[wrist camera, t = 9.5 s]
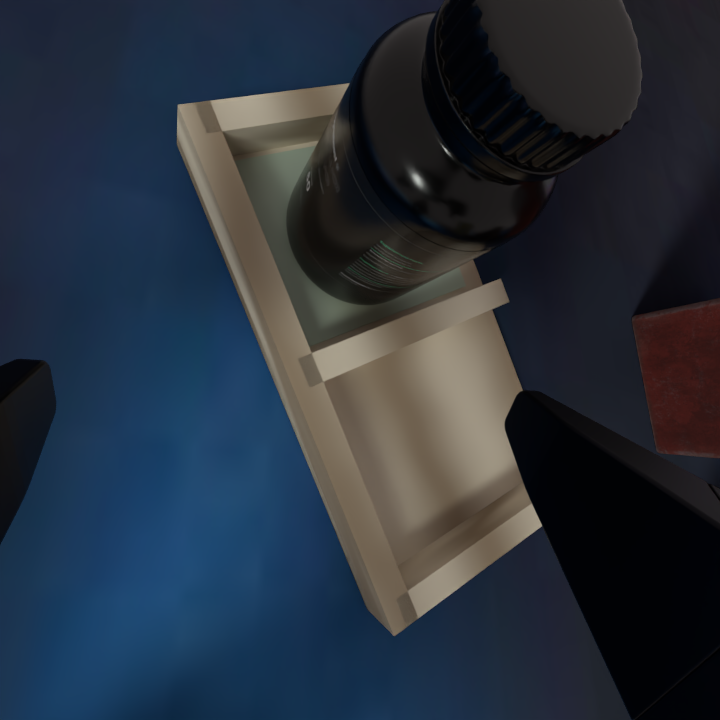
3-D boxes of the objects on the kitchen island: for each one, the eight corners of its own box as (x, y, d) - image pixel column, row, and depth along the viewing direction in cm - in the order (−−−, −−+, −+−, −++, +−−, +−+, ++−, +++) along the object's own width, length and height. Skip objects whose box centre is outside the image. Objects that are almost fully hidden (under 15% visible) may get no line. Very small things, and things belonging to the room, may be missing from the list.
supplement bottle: (302, 139, 20) (461, -196, 9) (430, 197, 22) (681, -10, 11) (266, 281, 19) (401, 91, 8) (407, 326, 21) (664, 232, 10)
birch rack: (406, 107, 23) (433, 72, 21) (549, 482, 24) (590, 489, 22) (177, 144, 19) (177, 104, 16) (367, 609, 20) (394, 636, 17)
